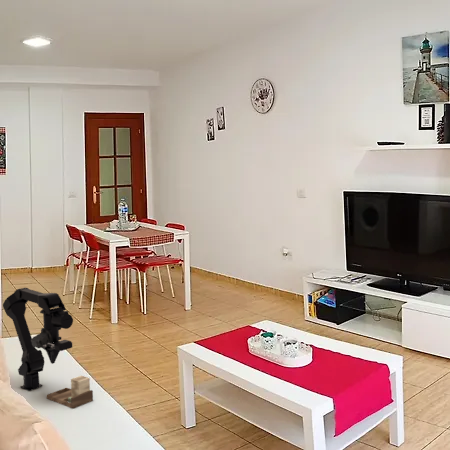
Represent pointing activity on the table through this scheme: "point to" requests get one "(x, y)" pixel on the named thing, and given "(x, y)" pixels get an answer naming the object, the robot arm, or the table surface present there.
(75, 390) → the birch block
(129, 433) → the table surface
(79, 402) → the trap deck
